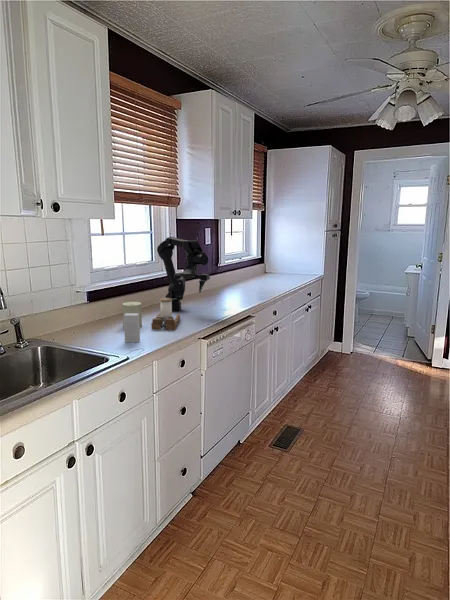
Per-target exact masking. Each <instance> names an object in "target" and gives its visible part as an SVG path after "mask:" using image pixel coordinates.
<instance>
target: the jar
mask: <svg viewBox="0 0 450 600" xmlns="http://www.w3.org/2000/svg"><path fill="white" fill-rule="evenodd" d="M159 302H160V303H159V304H160V306H159V307H160V314H161V316H169V317H173V311H172V298H166V297H161V298H160V299H159Z"/></svg>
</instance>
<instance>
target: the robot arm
mask: <svg viewBox="0 0 450 600" xmlns="http://www.w3.org/2000/svg"><path fill="white" fill-rule="evenodd" d="M175 246H176V247H180V248H182V250H184V251H185V252H184V253H183V254H184V255H185V256H186V265H185V269H184V270H183V271H182V272H176V270H175V265H174V262H173V256H174V255H173V254H174V253H173V252H174V250H175ZM156 252H157V254H158V256H159V258H160V259H161V260H162V262H163V265H164V269H165V271H166V276H167V280H168V283H169V285H168V289H167V291H168V292H167V294H166V295H165V298H172V312H179V311H182V300H183V298H184V295H185V292H186V279H187V280H192V279H199V280H198V281H199V282H198V283H199V285H198V286H199V287H198V288H199V290H198V292H199V294H201V292H202V290H203V287H204V285H205V283H206V282H208V280H210V279H211V278H210V277H211V276H210V274H209V273H202V274H199V272H198V267H199V265H200V266H206V265H207V264H208V263H209V257H208V255H207V254H206V252H204V251H203V249H202V247H201V245H200V243H199V241H198V240H197V239H194V240H193V239H192V240H186V239H181V238H178V237H175V236H171V237H169V236H168V237H166V238H165V240H163V241H162V242H161V243H159V245H158V246H157V248H156Z"/></svg>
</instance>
